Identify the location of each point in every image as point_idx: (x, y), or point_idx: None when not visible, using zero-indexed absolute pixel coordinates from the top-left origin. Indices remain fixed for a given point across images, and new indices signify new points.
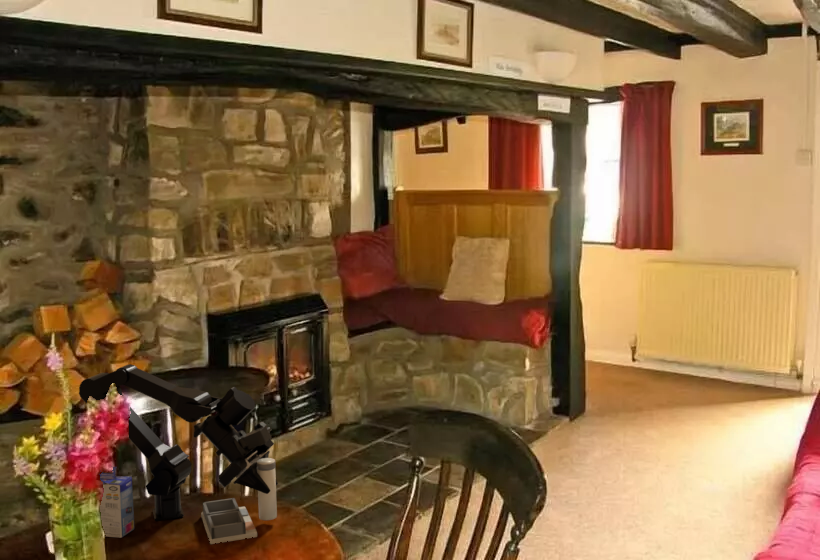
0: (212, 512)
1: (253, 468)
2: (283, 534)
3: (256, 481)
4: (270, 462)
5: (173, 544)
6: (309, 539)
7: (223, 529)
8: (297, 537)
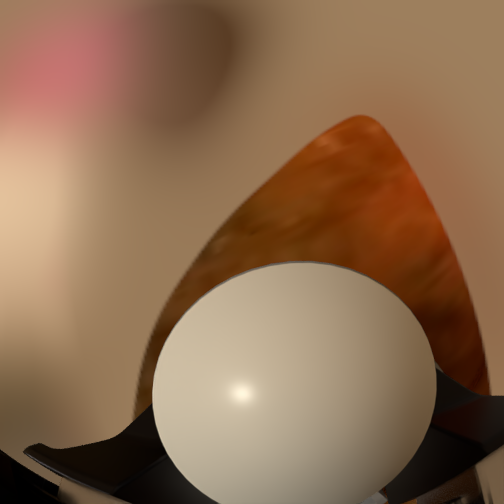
0: (372, 497)
1: (501, 406)
2: (344, 256)
3: None
4: (344, 302)
5: None
6: (340, 175)
7: None
8: (344, 208)
